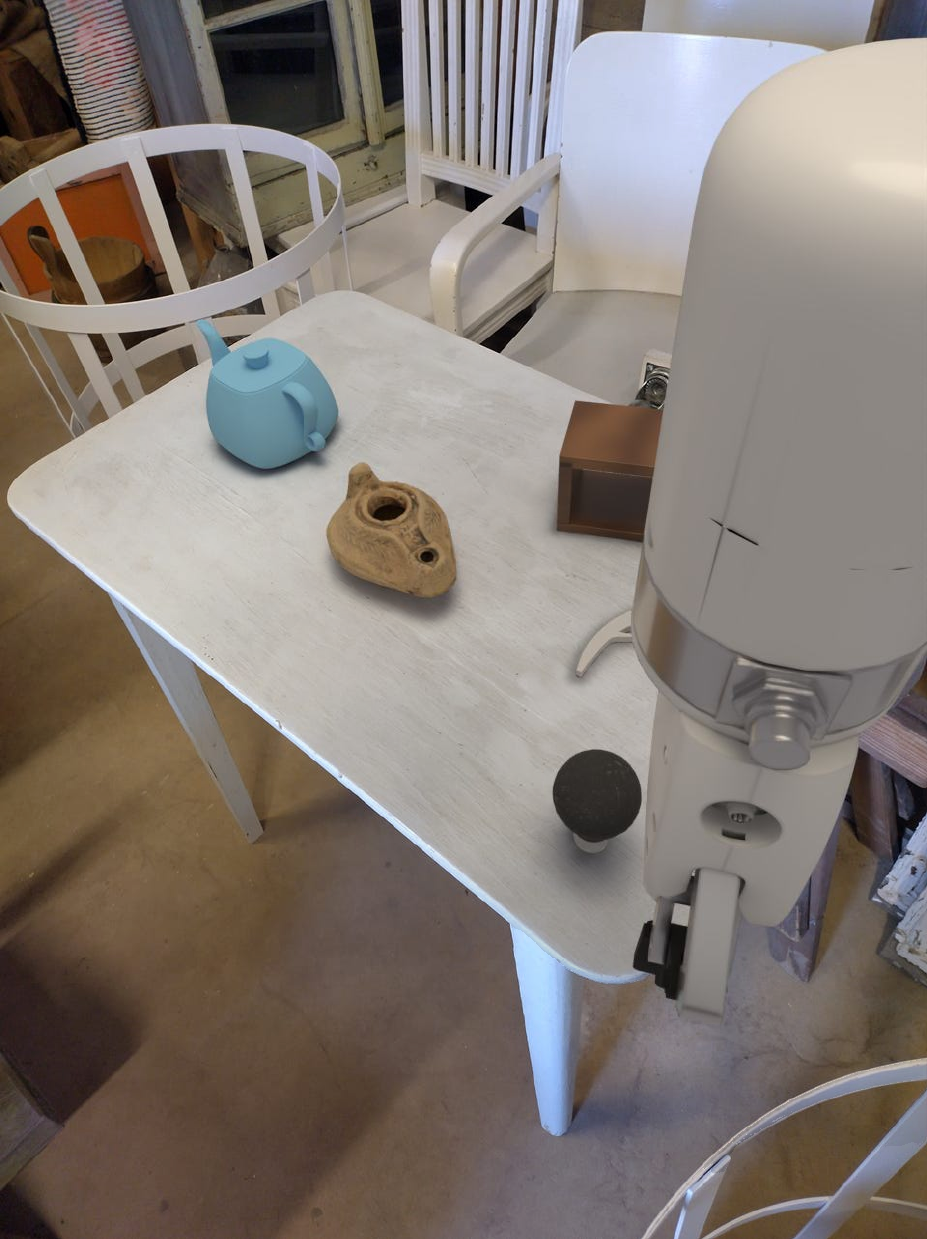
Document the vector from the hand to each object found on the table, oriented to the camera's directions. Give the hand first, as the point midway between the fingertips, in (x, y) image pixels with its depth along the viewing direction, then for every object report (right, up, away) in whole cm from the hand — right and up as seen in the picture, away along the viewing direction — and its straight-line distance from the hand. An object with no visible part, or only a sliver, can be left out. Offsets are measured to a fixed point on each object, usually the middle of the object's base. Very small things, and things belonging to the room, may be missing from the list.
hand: (682, 856), depth 35 cm
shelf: (+7, +21, +43) cm, 48 cm away
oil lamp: (-15, +15, +40) cm, 46 cm away
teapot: (-30, +31, +54) cm, 69 cm away
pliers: (+7, +9, +34) cm, 36 cm away
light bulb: (-1, -5, +22) cm, 23 cm away
